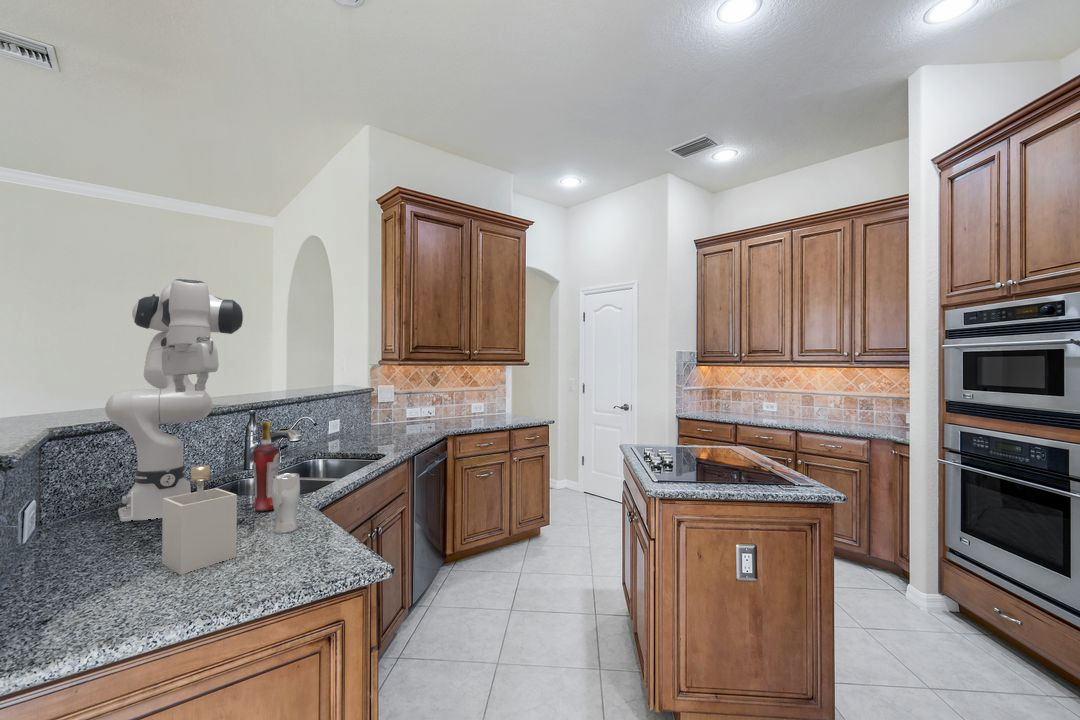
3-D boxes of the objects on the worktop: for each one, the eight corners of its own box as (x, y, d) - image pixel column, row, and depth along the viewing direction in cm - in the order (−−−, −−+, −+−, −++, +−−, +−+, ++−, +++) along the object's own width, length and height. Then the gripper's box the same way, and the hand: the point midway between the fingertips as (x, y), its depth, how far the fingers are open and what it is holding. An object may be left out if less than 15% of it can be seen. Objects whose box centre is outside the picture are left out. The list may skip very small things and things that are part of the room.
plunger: (170, 551, 107) (171, 468, 107) (212, 540, 114) (213, 461, 114) (185, 560, 102) (185, 472, 102) (228, 547, 109) (229, 465, 109)
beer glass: (287, 534, 124) (287, 479, 124) (265, 533, 125) (265, 478, 126) (305, 526, 131) (305, 473, 131) (284, 524, 132) (284, 472, 133)
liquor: (259, 506, 150) (259, 421, 150) (283, 505, 151) (283, 420, 151) (247, 513, 142) (248, 423, 143) (272, 512, 143) (273, 423, 144)
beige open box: (162, 563, 106) (162, 498, 106) (216, 547, 115) (216, 488, 116) (180, 575, 100) (181, 506, 100) (236, 557, 109) (236, 494, 109)
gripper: (225, 336, 119) (225, 389, 118) (183, 343, 128) (183, 392, 127) (198, 334, 113) (198, 390, 113) (156, 341, 123) (155, 393, 122)
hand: (190, 391), depth 120 cm, fingers open, 8 cm apart
